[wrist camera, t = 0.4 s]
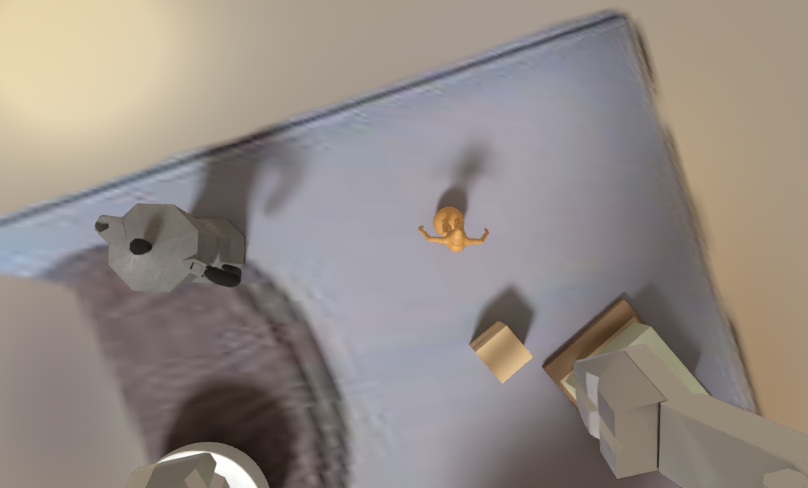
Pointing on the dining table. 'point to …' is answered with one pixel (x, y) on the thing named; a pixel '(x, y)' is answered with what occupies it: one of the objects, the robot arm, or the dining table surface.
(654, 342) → the plinth block
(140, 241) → the coffeepot
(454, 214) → the figurine
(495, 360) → the oak cube
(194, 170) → the dining table surface
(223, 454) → the cereal bowl
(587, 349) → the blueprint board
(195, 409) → the dining table surface
